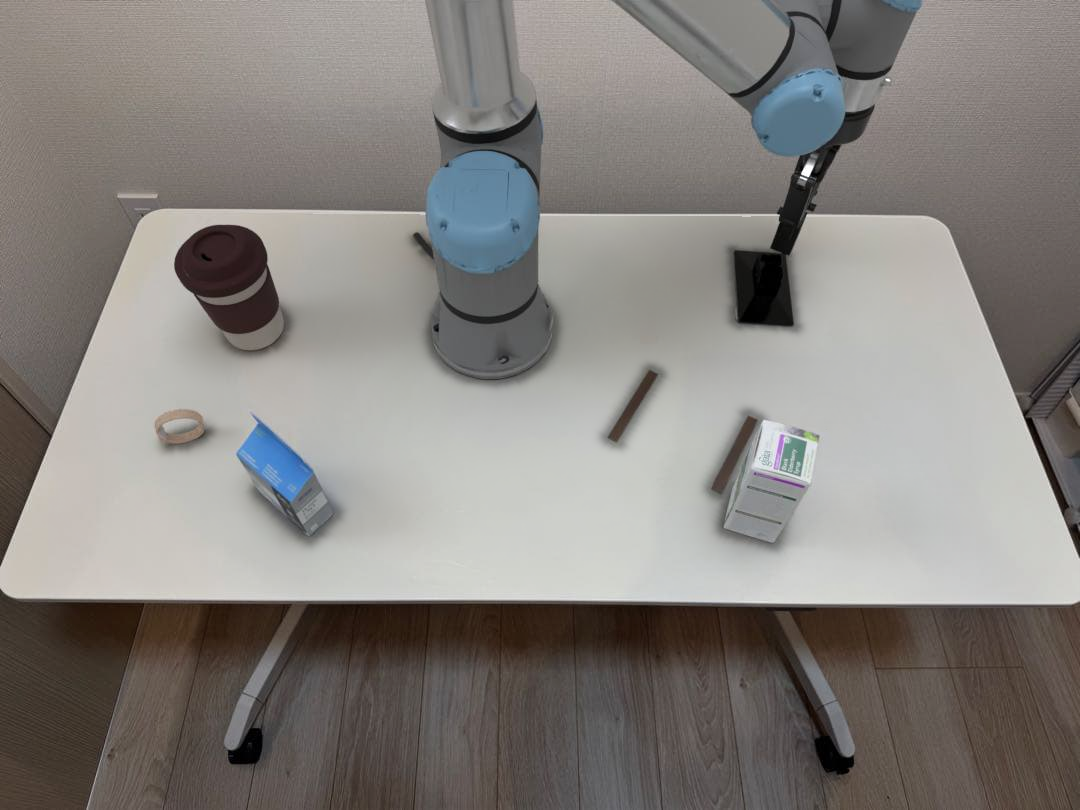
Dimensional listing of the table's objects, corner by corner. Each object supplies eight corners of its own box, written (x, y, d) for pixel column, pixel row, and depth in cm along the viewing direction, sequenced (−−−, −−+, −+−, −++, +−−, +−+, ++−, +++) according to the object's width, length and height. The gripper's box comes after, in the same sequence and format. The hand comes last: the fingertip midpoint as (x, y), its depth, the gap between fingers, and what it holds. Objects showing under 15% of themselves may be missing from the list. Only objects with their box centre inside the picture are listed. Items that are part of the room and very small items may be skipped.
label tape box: (256, 490, 85) (217, 435, 75) (285, 465, 87) (250, 408, 76) (309, 538, 82) (276, 488, 72) (337, 511, 84) (309, 459, 73)
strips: (607, 437, 89) (607, 436, 89) (649, 370, 94) (649, 369, 94) (720, 493, 85) (721, 493, 85) (757, 420, 90) (758, 419, 90)
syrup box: (774, 545, 82) (816, 485, 70) (720, 528, 83) (751, 466, 71) (783, 499, 85) (824, 433, 73) (730, 483, 86) (762, 416, 74)
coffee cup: (289, 291, 101) (253, 205, 88) (301, 349, 96) (265, 267, 83) (212, 309, 99) (164, 224, 86) (220, 369, 94) (171, 289, 81)
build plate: (793, 327, 98) (803, 304, 94) (735, 323, 98) (743, 300, 94) (785, 254, 104) (794, 230, 100) (731, 251, 105) (738, 227, 101)
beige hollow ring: (167, 434, 89) (148, 412, 85) (208, 421, 90) (192, 399, 86) (169, 453, 88) (151, 431, 83) (212, 440, 89) (195, 418, 84)
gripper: (856, 140, 78) (791, 291, 98) (893, 73, 84) (824, 228, 104) (787, 116, 80) (736, 269, 100) (827, 52, 86) (772, 208, 106)
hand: (781, 248), depth 102 cm, fingers closed
